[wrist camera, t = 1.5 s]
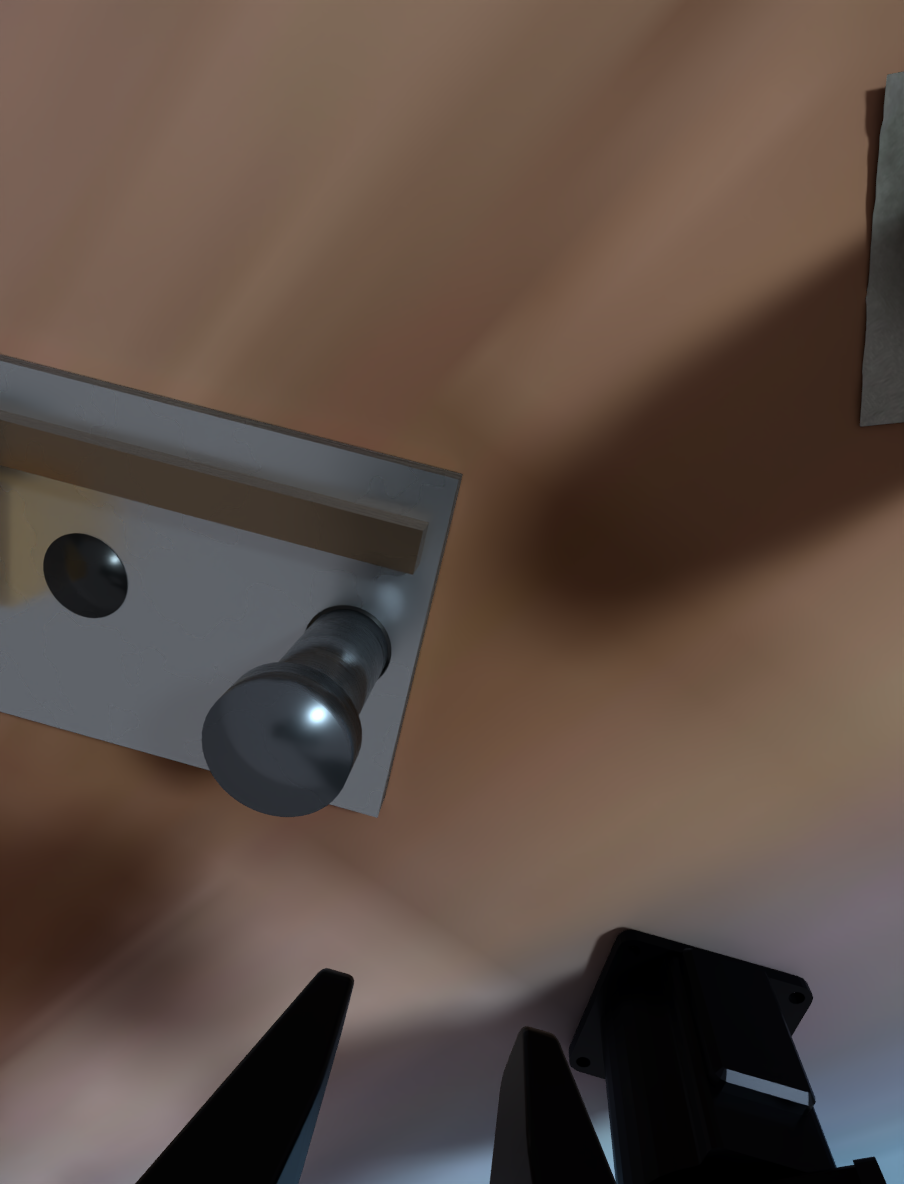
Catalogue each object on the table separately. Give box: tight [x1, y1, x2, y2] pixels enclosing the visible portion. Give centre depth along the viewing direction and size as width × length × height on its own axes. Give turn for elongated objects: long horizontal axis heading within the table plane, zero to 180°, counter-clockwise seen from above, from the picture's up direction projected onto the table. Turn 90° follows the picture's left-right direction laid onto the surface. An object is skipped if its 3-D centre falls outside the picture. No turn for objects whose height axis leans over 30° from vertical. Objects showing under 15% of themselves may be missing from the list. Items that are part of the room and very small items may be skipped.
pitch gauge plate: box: [0, 354, 463, 818], centre depth 17 cm, size 11×16×6 cm
